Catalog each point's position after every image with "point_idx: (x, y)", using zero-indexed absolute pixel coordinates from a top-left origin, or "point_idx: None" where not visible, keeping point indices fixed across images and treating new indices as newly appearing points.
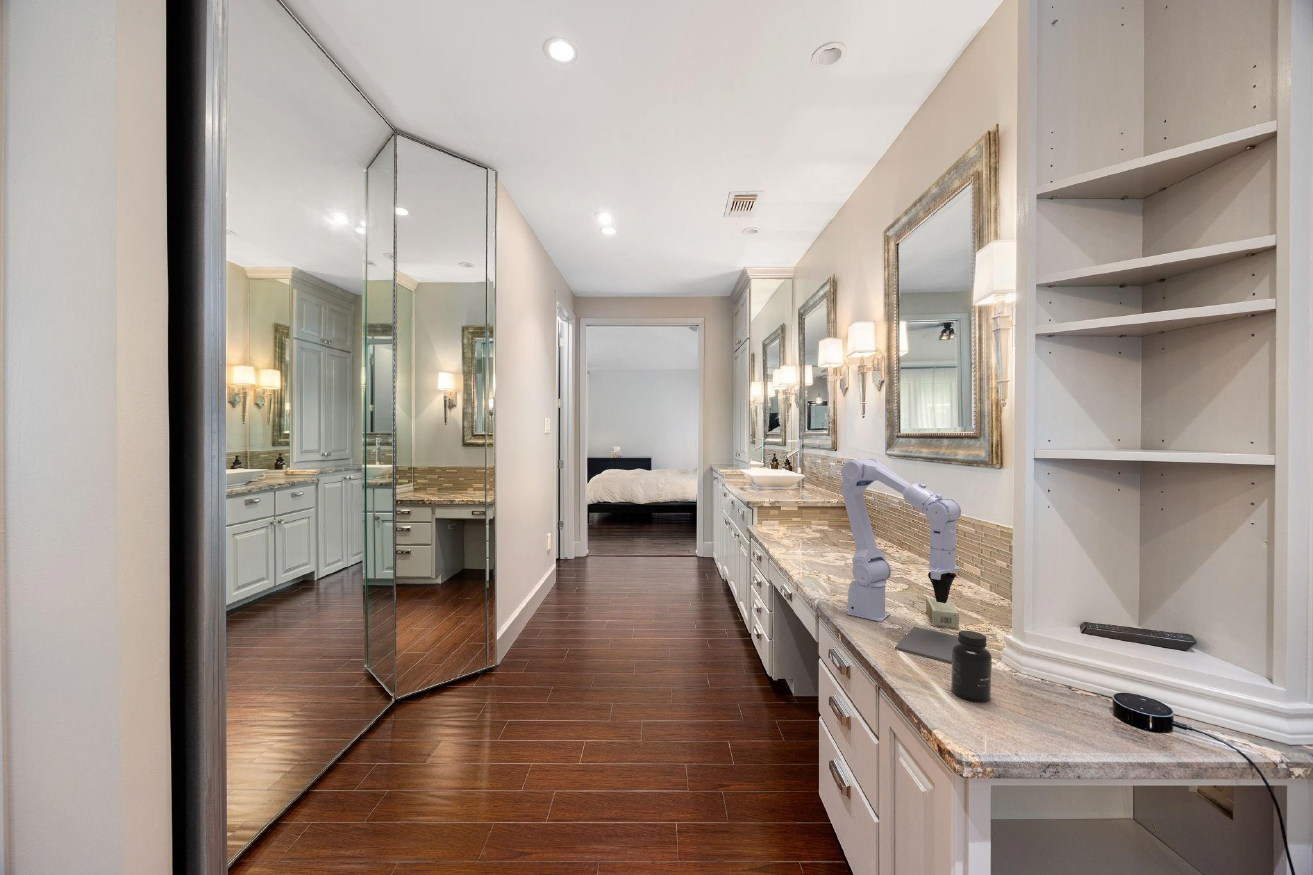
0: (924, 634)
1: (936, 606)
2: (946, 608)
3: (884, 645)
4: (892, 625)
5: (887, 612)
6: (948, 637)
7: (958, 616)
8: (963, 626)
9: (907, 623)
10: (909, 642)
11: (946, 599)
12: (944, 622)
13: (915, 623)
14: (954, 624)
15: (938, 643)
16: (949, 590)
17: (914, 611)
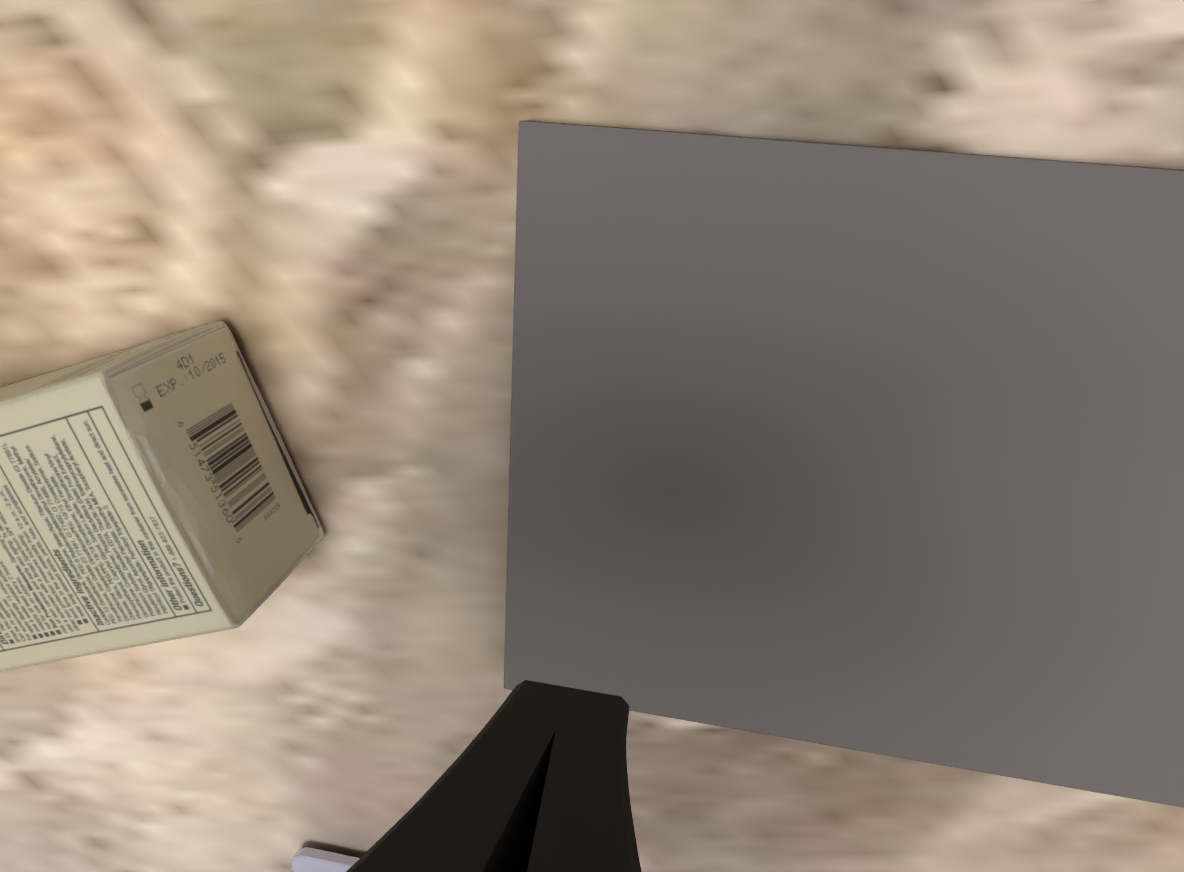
0: (677, 603)
1: (61, 609)
2: (40, 512)
3: (1128, 862)
4: None
5: (297, 870)
6: (617, 394)
7: (131, 363)
8: (101, 280)
9: (407, 723)
10: (1010, 710)
11: (621, 746)
12: (258, 467)
13: (358, 668)
14: (218, 371)
15: (880, 473)
16: (417, 851)
17: (59, 685)
